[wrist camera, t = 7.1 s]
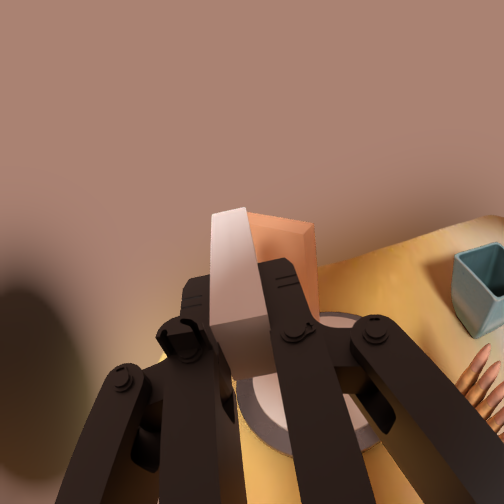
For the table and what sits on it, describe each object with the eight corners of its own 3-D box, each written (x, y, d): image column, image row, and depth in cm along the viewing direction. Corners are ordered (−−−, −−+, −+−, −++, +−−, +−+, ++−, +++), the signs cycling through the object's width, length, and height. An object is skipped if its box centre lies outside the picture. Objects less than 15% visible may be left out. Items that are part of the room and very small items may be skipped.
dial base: (442, 386, 25) (454, 365, 22) (293, 496, 19) (290, 490, 17) (340, 297, 40) (341, 275, 37) (213, 362, 34) (204, 342, 32)
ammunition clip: (432, 411, 23) (475, 338, 16) (446, 405, 23) (492, 331, 16) (458, 498, 14) (531, 458, 7) (474, 489, 14) (549, 444, 7)
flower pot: (481, 292, 33) (497, 239, 29) (513, 332, 26) (539, 279, 21) (438, 309, 34) (452, 253, 29) (470, 356, 26) (497, 301, 21)
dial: (411, 342, 29) (441, 203, 20) (358, 462, 20) (404, 353, 11) (293, 306, 38) (276, 180, 29) (220, 394, 29) (157, 265, 20)
